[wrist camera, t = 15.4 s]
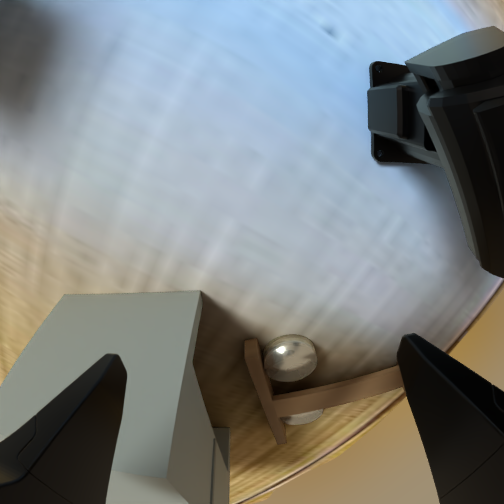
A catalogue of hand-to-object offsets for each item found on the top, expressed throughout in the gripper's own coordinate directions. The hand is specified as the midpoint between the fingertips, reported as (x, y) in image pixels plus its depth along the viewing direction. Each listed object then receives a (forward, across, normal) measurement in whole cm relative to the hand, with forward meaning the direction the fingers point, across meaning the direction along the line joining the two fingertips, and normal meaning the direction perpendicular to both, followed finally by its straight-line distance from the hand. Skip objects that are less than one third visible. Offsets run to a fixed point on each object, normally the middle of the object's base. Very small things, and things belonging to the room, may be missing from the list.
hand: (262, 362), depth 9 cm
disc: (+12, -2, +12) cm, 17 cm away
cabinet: (+12, +10, +15) cm, 22 cm away
